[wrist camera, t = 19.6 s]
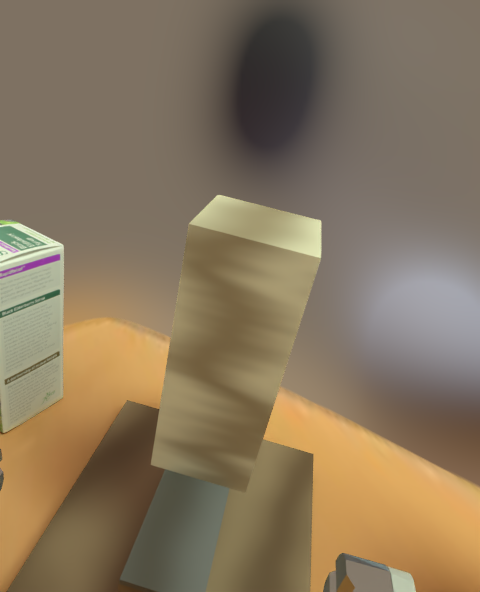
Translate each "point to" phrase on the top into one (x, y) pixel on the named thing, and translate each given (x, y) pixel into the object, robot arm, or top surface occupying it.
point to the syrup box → (29, 323)
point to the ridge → (175, 523)
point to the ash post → (232, 336)
